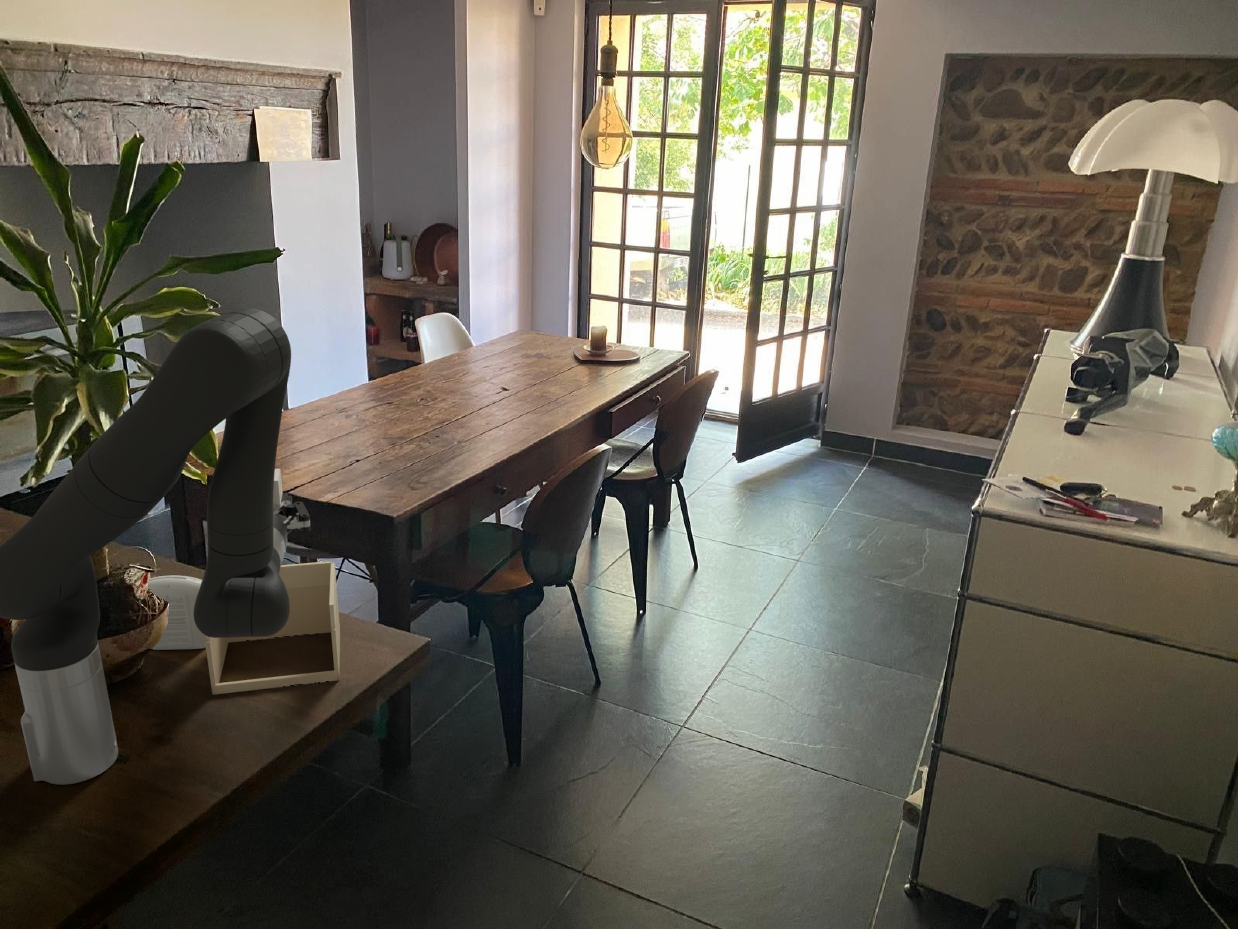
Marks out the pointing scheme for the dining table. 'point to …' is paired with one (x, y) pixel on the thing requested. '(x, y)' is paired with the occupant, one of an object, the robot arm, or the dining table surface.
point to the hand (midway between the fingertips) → (265, 499)
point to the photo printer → (179, 612)
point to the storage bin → (291, 626)
